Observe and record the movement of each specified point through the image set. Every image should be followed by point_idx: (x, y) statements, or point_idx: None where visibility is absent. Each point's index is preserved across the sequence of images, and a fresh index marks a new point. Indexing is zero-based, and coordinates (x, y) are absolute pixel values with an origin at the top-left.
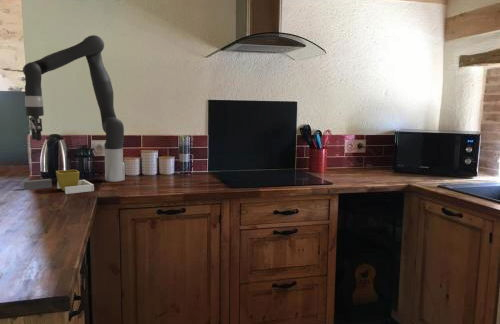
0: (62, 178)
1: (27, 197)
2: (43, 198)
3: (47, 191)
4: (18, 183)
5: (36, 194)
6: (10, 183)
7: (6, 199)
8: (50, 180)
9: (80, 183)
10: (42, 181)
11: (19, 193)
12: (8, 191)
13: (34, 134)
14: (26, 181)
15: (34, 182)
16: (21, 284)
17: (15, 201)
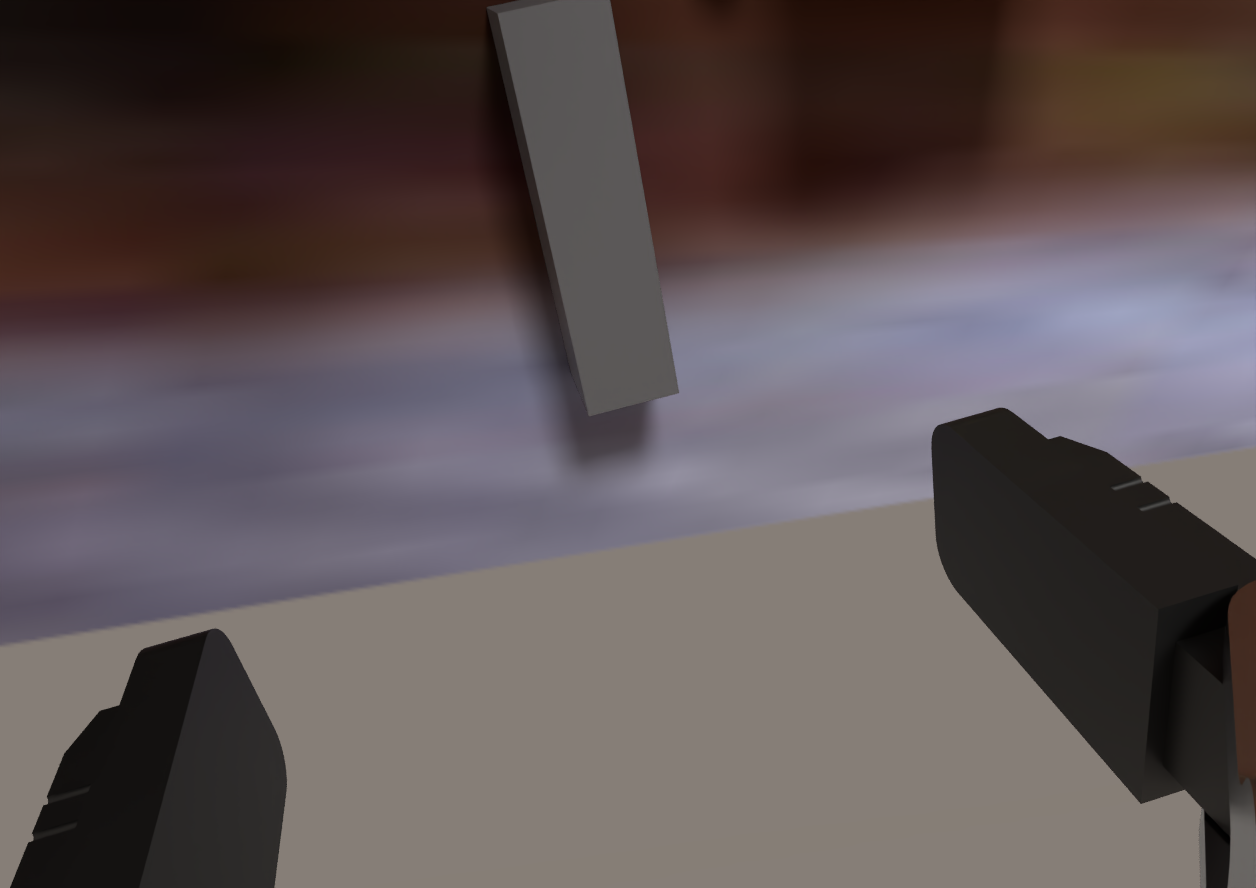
0: None
1: (1098, 281)
2: (1248, 110)
3: (870, 60)
4: (92, 475)
5: (991, 194)
6: (73, 570)
7: None
8: (609, 11)
9: None
10: (633, 142)
11: (839, 381)
12: (667, 505)
13: (221, 868)
14: (629, 365)
15: (652, 255)
16: None
17: (1212, 372)
